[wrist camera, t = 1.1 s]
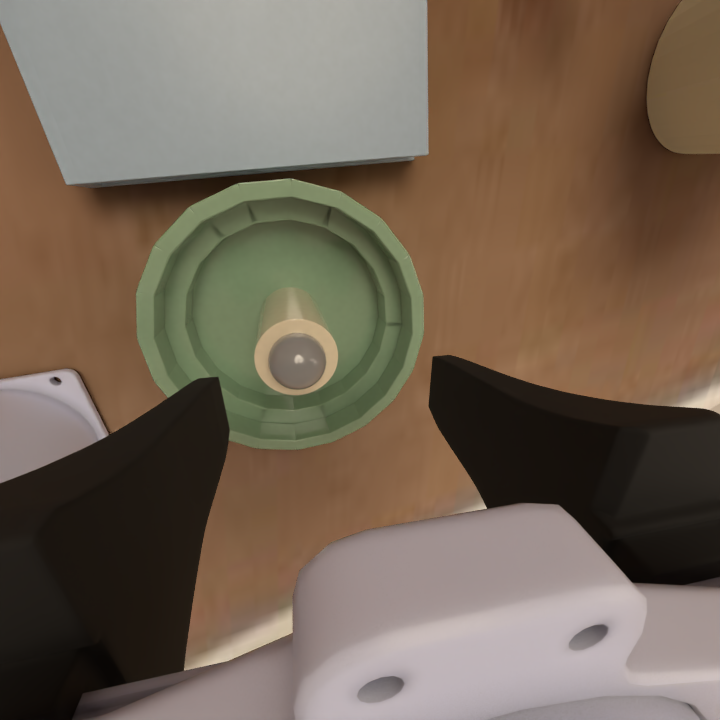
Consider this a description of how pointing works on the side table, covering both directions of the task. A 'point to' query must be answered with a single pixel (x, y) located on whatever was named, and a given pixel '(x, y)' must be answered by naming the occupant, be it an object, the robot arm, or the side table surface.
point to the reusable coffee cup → (687, 80)
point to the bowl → (261, 278)
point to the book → (222, 85)
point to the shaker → (294, 343)
